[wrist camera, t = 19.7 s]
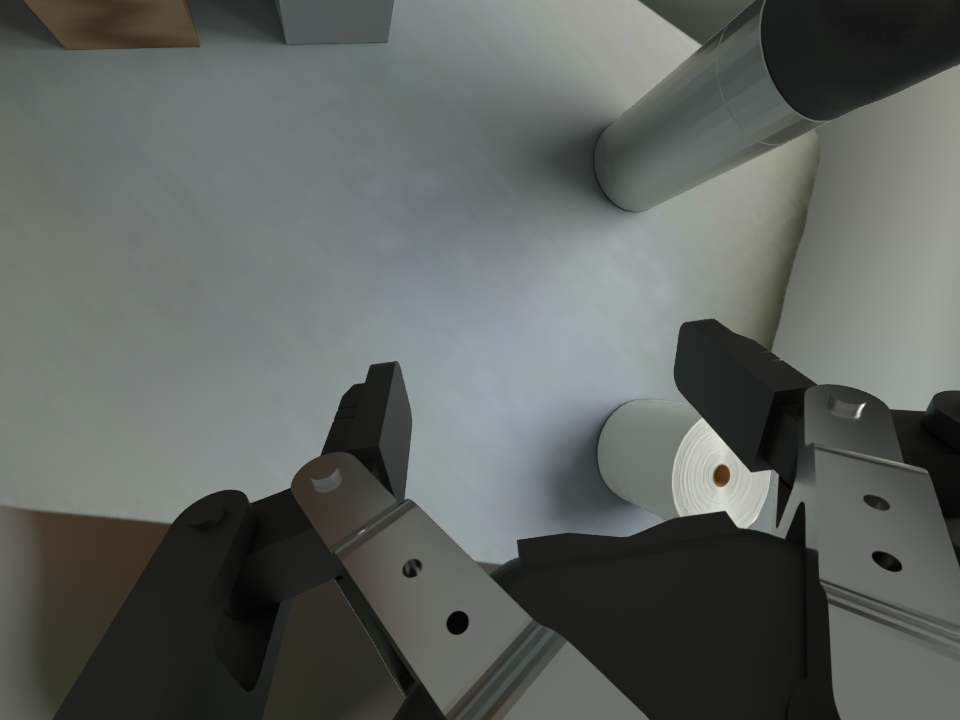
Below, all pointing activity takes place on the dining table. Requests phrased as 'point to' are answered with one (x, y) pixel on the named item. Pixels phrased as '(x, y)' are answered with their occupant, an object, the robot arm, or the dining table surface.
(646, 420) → the toilet tissue
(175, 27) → the walnut stand
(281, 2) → the grey square pillar
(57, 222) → the dining table surface
